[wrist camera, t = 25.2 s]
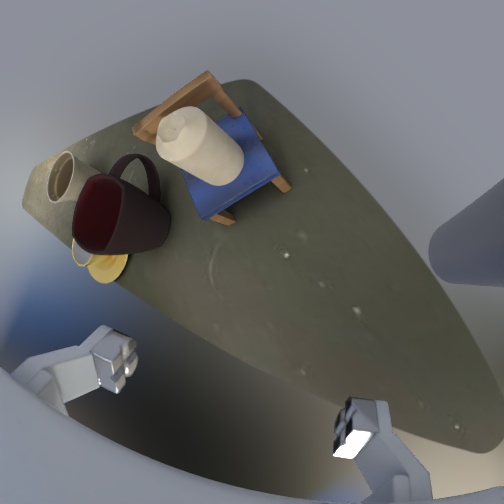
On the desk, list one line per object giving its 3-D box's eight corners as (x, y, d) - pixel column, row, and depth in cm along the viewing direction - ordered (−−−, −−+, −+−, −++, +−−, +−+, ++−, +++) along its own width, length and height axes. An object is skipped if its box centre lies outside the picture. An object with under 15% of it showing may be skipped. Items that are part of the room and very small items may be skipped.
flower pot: (97, 218, 50) (60, 210, 42) (74, 202, 53) (41, 194, 45) (116, 170, 49) (80, 156, 41) (91, 159, 52) (59, 147, 44)
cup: (108, 297, 46) (84, 298, 41) (79, 253, 50) (56, 251, 45) (141, 241, 44) (117, 237, 39) (107, 200, 48) (84, 193, 43)
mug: (125, 248, 46) (66, 240, 35) (151, 166, 45) (97, 141, 34) (169, 268, 42) (107, 264, 31) (198, 176, 42) (144, 146, 31)
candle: (252, 145, 32) (207, 100, 22) (234, 191, 32) (182, 160, 22) (211, 137, 34) (160, 98, 24) (194, 180, 34) (137, 151, 25)
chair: (294, 189, 37) (249, 139, 23) (228, 228, 40) (155, 203, 26) (260, 131, 39) (207, 69, 25) (201, 169, 42) (131, 128, 28)
